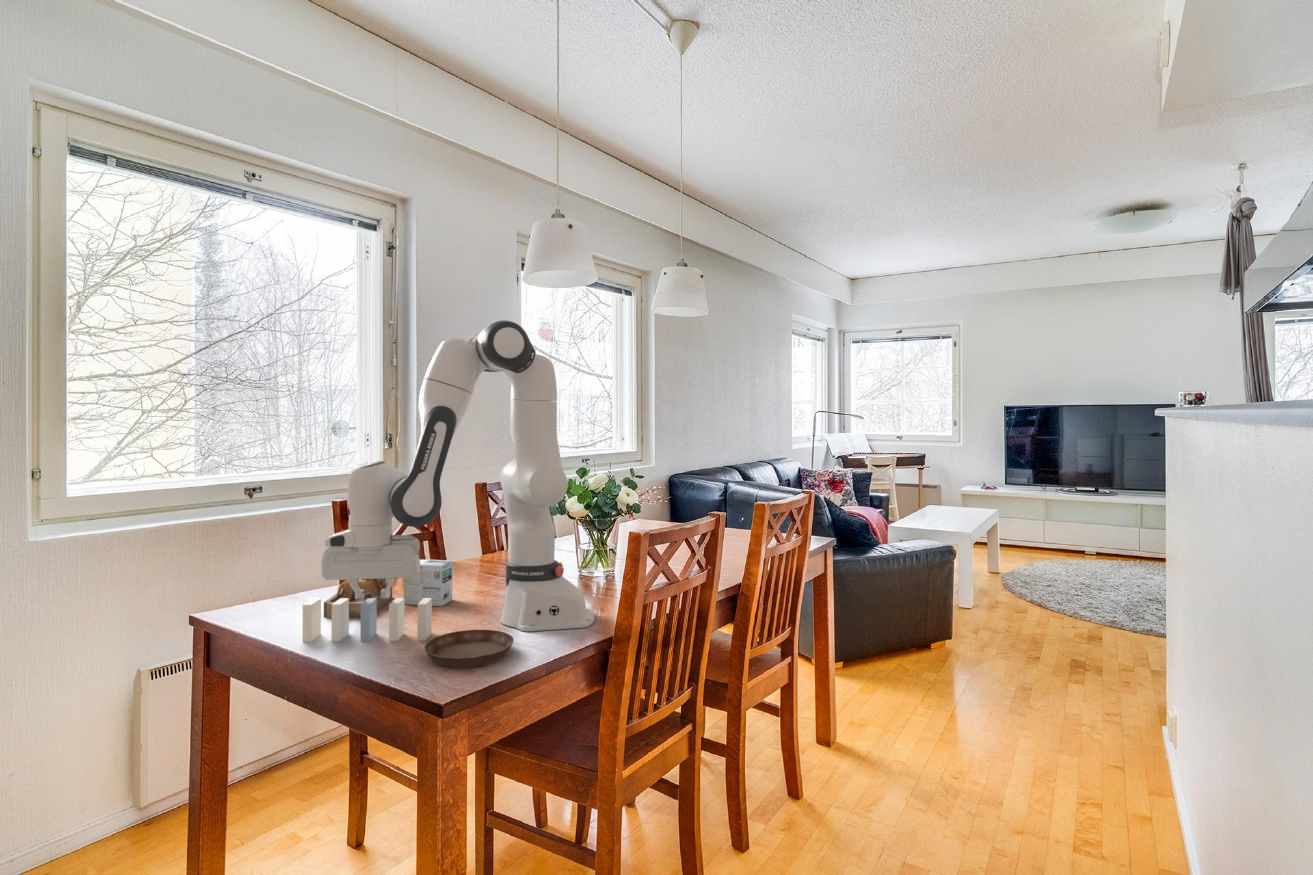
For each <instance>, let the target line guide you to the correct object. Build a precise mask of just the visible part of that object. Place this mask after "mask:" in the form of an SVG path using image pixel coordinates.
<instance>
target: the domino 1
mask: <svg viewBox="0 0 1313 875" xmlns="http://www.w3.org/2000/svg"><path fill="white" fill-rule="evenodd" d="M321 621H322V598H321V597H319V598H316V597H315V598H311V599H309V600H308V601H306V602H305V603H303V604H302V642H303V643H304V642H307V643H309V642H310V643H311V642H313V641H314V640H316V639H317V638H318V637H319V636H321V634H322V632H321V631H322V629H321V628H322V627H321V626H322V622H321Z"/></svg>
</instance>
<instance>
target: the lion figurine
mask: <svg viewBox="0 0 1313 875" xmlns="http://www.w3.org/2000/svg"><path fill="white" fill-rule="evenodd" d="M357 584H358V586H359V587H360V589H361V590H363V589H364V591H365V592H364V594H371V598H373V597H374V596H375V595H376V594H379V593H380V592H381V590H382V589H386V587H387V585H388V583H386V582H385V578H382V579H359V582H357ZM341 590H343V591H342V593H341V594H340V592H341ZM353 592H354V591H353V589H352V588H351V586H350V585H349V580H344V581H343V582H341V584H339V587H338V589H337V593H336V594H337V596H338V598H339V595H340V598H344V597H345V596H346V598H349V602H351V600H352V599H351V596H352V594H353ZM340 598H339V599H340ZM350 599H351V600H350Z"/></svg>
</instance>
